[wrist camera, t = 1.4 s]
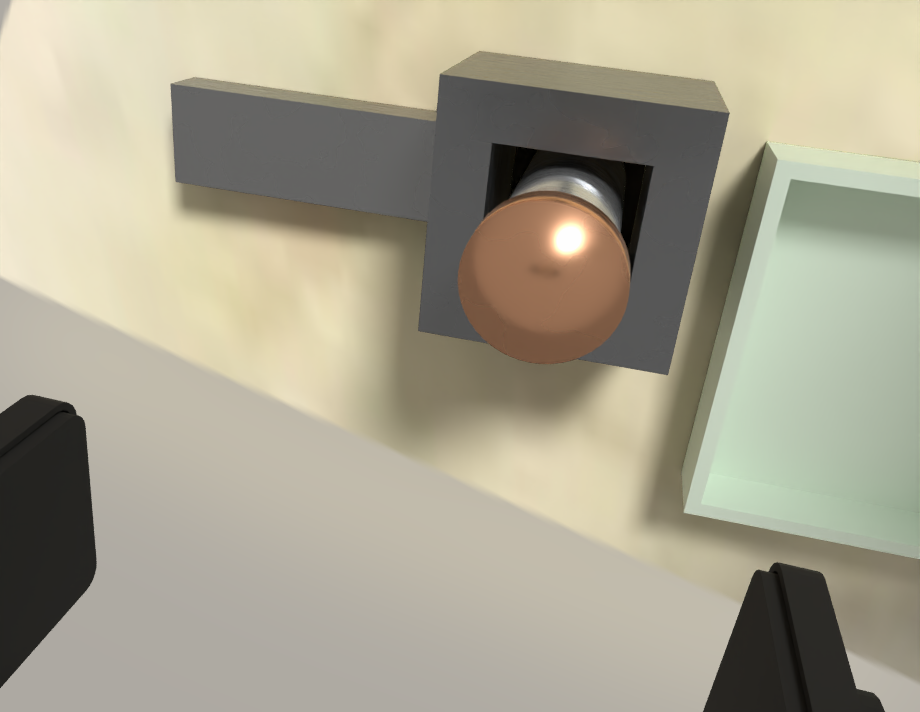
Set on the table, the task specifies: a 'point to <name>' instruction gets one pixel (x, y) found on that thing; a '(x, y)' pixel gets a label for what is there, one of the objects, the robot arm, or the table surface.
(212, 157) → the hitch block
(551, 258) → the pin
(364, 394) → the table surface
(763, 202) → the tray
